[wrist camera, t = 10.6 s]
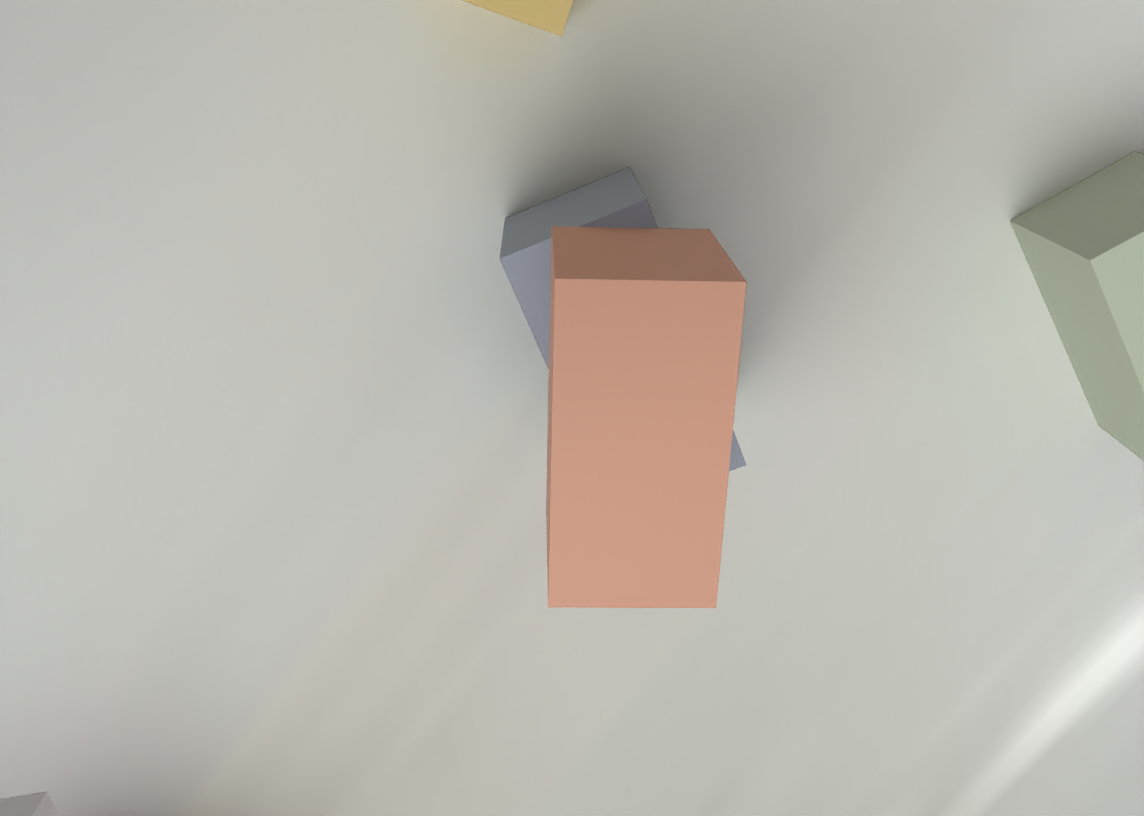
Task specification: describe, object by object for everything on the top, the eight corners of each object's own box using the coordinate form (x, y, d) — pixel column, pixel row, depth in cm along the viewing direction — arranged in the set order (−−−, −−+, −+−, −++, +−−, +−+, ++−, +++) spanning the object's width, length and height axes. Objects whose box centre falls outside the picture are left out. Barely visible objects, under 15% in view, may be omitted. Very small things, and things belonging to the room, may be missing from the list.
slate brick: (505, 217, 31) (499, 258, 26) (629, 166, 30) (646, 198, 26) (602, 442, 34) (612, 514, 29) (716, 398, 33) (746, 465, 29)
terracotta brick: (551, 226, 26) (555, 279, 21) (709, 229, 26) (746, 281, 21) (546, 507, 29) (548, 607, 24) (687, 508, 29) (715, 607, 24)
